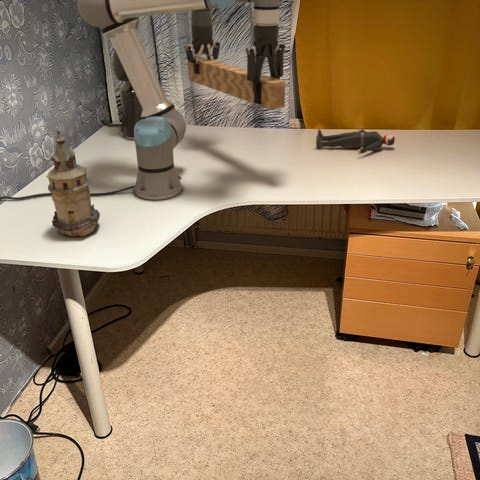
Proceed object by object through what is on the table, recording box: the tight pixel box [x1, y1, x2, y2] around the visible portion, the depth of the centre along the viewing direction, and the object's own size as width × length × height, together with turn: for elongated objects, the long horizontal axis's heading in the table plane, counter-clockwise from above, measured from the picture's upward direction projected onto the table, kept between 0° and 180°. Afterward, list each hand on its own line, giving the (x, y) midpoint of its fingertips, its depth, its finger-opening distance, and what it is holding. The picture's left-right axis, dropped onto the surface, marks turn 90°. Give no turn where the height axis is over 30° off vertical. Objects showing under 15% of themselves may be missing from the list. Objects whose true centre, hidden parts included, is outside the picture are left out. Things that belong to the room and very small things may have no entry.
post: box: [187, 56, 286, 111], centre depth 183 cm, size 51×5×8 cm, turn 35°
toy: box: [315, 128, 396, 155], centre depth 211 cm, size 26×6×30 cm
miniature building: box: [46, 129, 101, 237], centre depth 148 cm, size 13×14×30 cm
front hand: (264, 101), depth 171 cm, fingers closed on post, 5 cm apart
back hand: (203, 72), depth 196 cm, fingers closed on post, 5 cm apart
